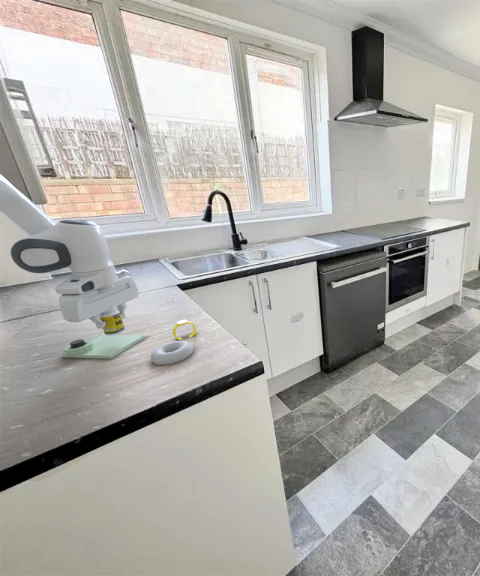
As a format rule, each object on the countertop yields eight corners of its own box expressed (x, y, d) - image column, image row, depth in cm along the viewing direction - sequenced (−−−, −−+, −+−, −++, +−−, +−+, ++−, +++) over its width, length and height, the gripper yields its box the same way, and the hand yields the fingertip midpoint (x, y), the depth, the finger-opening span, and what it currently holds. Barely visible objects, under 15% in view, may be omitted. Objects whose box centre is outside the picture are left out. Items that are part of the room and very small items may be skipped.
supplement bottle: (121, 334, 91) (112, 308, 88) (101, 337, 89) (92, 310, 86) (128, 327, 95) (120, 302, 92) (109, 330, 93) (100, 304, 91)
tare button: (68, 348, 87) (66, 344, 87) (79, 343, 90) (77, 338, 89) (78, 349, 87) (76, 344, 86) (88, 343, 90) (87, 339, 89)
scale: (61, 359, 87) (57, 350, 86) (102, 338, 98) (99, 329, 97) (109, 360, 86) (106, 351, 85) (145, 339, 97) (142, 330, 96)
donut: (185, 365, 83) (199, 346, 92) (182, 354, 82) (197, 336, 91) (144, 370, 81) (163, 350, 91) (141, 358, 80) (160, 339, 89)
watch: (195, 333, 100) (191, 317, 98) (198, 336, 99) (194, 319, 97) (174, 340, 96) (169, 323, 94) (177, 343, 94) (172, 326, 93)
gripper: (118, 268, 96) (131, 309, 101) (47, 290, 77) (66, 339, 82) (137, 268, 96) (149, 309, 101) (70, 290, 77) (88, 339, 81)
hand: (111, 322), depth 91 cm, fingers closed on supplement bottle, 5 cm apart
